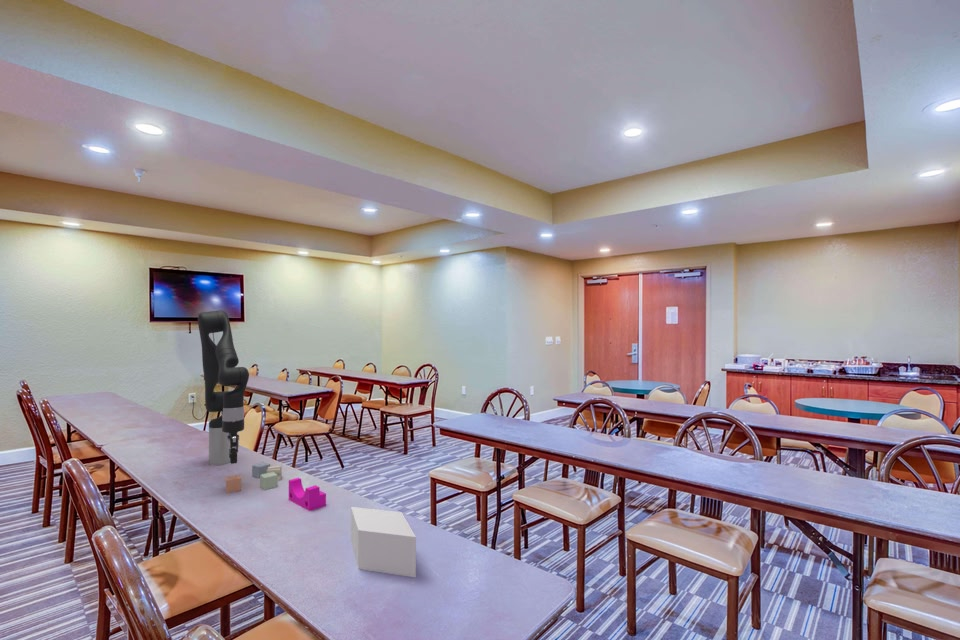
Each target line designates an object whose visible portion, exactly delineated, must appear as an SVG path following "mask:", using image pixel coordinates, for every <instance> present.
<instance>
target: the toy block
mask: <svg viewBox="0 0 960 640" xmlns="http://www.w3.org/2000/svg"><path fill="white" fill-rule="evenodd" d="M302 483H303V482H302V478H300V477H295V478H292V479H288V501H290V502H292V503H294V504H296V505H298V506H299V507H301V508H304V509H305V510H307V511H308V512H311V511H314V510H316V509H319V508H322V507H326V506H327V493H326V492H323V491H322V490H320V486H318V485H316V484H315V485H312V486H308V487H306V488H304V487H303V484H302Z"/></svg>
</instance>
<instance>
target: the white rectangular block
mask: <svg viewBox="0 0 960 640" xmlns="http://www.w3.org/2000/svg"><path fill="white" fill-rule="evenodd" d="M350 543H351V547H352V550H353V554H354V557H355V561H356V562H355V563H356V566H357V569H358V570H363V571H364V570H365V571H371V572H376V573H381V574H382V573H384V574H390V575H396V576H402V577H403V576H404V577H410V578H417V536H416V535H415V532H413V530H412V528H411V526H410V524H409V523H408V521H407V519H406V518H405V516H404V514H403V512H401V511H394V510H382V509H377V508H375V509H373V508H365V507H355V506H351V507H350Z"/></svg>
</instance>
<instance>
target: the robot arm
mask: <svg viewBox="0 0 960 640" xmlns="http://www.w3.org/2000/svg"><path fill="white" fill-rule="evenodd" d="M229 318H230V317H229V316H228V314H227V311H225V310H211V311H203V312H200V313H199V314H198V317H197V324H198V331H199V337H200V343H201V355H202V356H201V358H202V359H201V361H202V369H203V370H202V371H203V378H204V403H205V410H206V411H207V412H208V413H209V412H210V413H218V412H219V413H220V412H222V413H221V414H222V415H220V416H218V417H216V418H213V419H211V420H209V422H208V465H209V466H212V467H215V466H216V467H217V466H224V465H228V464H231V465H233V464H237V463H238V453H239V447H240V445H239V444H240V443H239V442H240V435H239V434H238V432H243V431H244V430H245V406H244V405H245V404H244V402H245V399H244V398H245V392H246V388H247V385H248V382H249V379H250V372H249V370H248V369H247V368H246V367H245V366H238V365H239V356H238V354H237V351H236V349H235V345H234V339H233V333H232V328H231V323H230V319H229ZM221 332H222V335H221V337H220V339H219V341H218V342H217V344H216V343H215V342H214V341H213V340H212V339H211V337H210V334H214V333H221ZM218 383H219V384H220V385H221V386H223V387H230V386H231V387H232V386H236V387H235V388H234V389H233V390H230V391H229V390H227V391H214V390H215V388H216V386H217V385H218Z"/></svg>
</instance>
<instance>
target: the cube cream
mask: <svg viewBox="0 0 960 640" xmlns="http://www.w3.org/2000/svg"><path fill="white" fill-rule="evenodd" d="M282 469H283V468H282V465H273V466H270V467H268V469H267V473H271V472H274V473H275V474H277V475H278V482H280V481H281V480H282Z"/></svg>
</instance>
